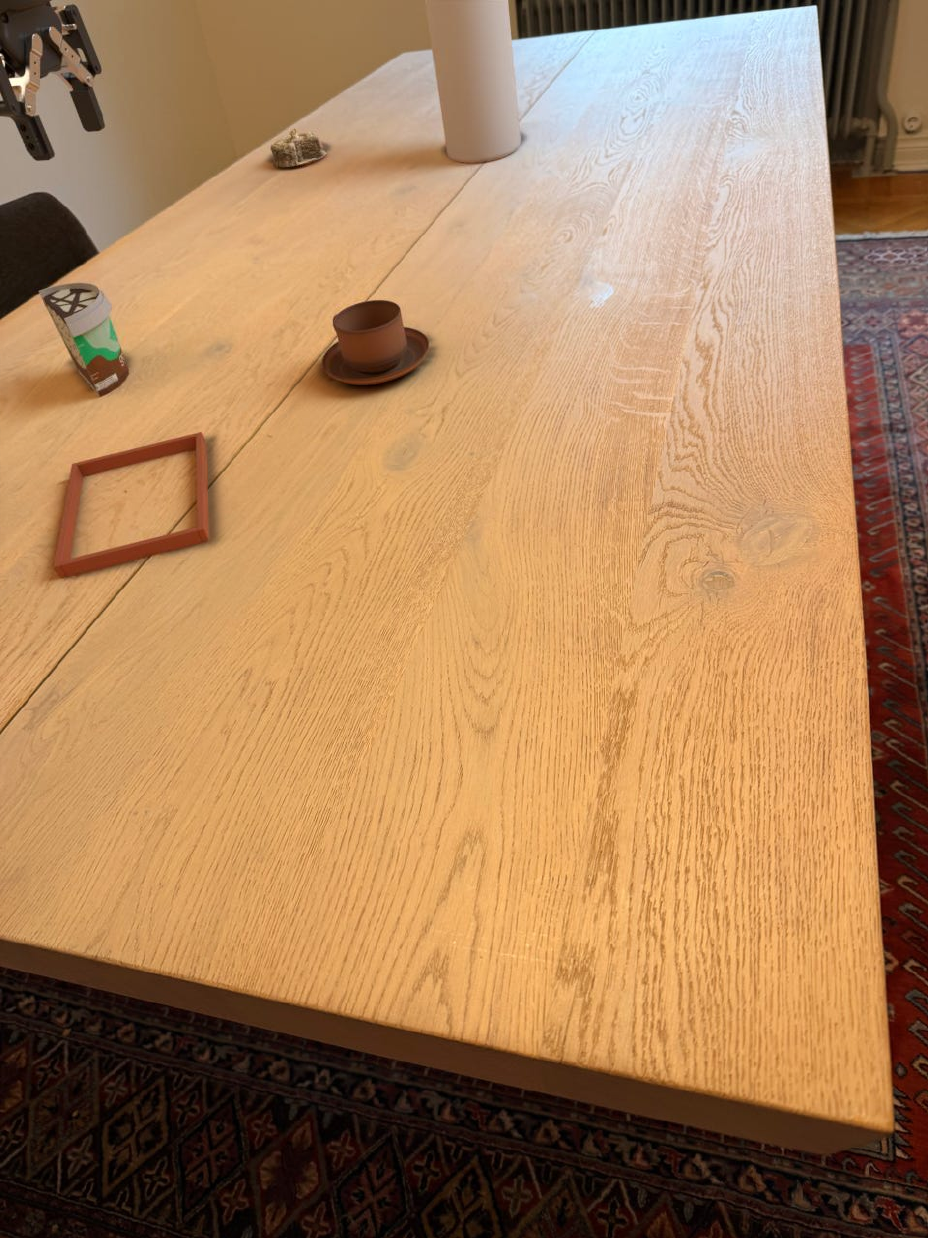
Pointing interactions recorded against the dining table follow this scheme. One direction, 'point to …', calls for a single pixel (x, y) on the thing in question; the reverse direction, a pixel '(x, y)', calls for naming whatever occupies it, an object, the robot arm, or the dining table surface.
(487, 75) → the cylinder vase
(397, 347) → the cup and saucer
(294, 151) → the cake
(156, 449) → the square frame
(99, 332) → the food container
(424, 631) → the dining table surface
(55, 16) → the robot arm
